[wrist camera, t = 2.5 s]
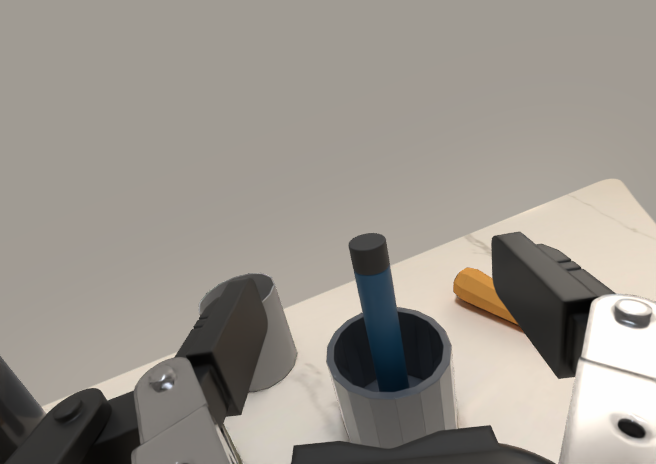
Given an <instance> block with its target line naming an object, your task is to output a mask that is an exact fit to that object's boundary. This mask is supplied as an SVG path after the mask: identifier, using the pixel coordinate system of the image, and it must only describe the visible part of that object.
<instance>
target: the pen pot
mask: <svg viewBox="0 0 656 464" xmlns="http://www.w3.org/2000/svg"><path fill="white" fill-rule="evenodd" d="M397 313H398V319H399V325H400V331H401V338H402V344H403V350H404V356H405V363H406V369H407V375H408V381H409V388H408V389H404V390H400V391H397V392H379V388H378V383H377V378H376V373H375V369H374V364H373V359H372V354H371V350H370V345H369V340H368V335H367V331H366V326H365V321H364V316H363V313H361V314H359V315H357V316H355V317H353V318H351V319H349V320H347V321H346V322H345V323H344V324H343V325H342V326H341V327H340V328H339V329H338V330H337V331H335V333H334V335H333V337H332V338H331V340H330V342H329V344H328V347H327V360H326V362H327V366H328V369H329V373H330V376H331V380H332V383H333V387H334V390H335V394H336V397H337V401H338V404H339V408H340V411H341V415H342V419H343V422H344V426H345V429H346V431H347V434H348V437H349V440H350V442H351V443H355V444H361V445H367V446H373V447H379V448H386V449H390V448H395V447H398V446H400V445H403V444H406V443H408V442H411V441H413V440H416V439H419V438H421V437H424V436H427V435H429V434H432V433H434V432H437V431H441V430H450V429H457V426H458V424H457V419H458V415H457V403H456V391H455V379H454V367H453V355H452V345H451V343H450V340H449V338H448V336H447V333H446V331H445V330H444V329H443V328H442V327H441V326H440V325H439V324H438V323H437V322H436V321H435V320H434V319H433V318H431V317H429V316H427V315H425V314H423V313H421V312H419V311H416V310H411V309H406V308H400V307H399V308H398V307H397Z"/></svg>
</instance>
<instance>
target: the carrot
mask: <svg viewBox="0 0 656 464" xmlns="http://www.w3.org/2000/svg"><path fill="white" fill-rule="evenodd" d="M453 292H454V293H455V294H456V295H457V296H458V297H459V298H460V299H462V300H464V301H466V302H468V303H470V304H473V305H475V306H477V307H479V308H482V309H484V310H486V311H488V312H491V313H493V314H495V315H497V316H499V317H502V318H504V319H506V320H508V321H511V322H513V323H515V324H517V325H518V323H517V322H516V321H515V319H514V318H513V316H512V315H511V314H510V312H509V311H508V310H507V308H506V307H505V306H504V304H503V303H502V301H501V300H500V299H499V297H498V296H497V293H496V291H495V288H494V285H493V279H492V278H491V277H489V276H488V275H486V274H484V273H483V272H481V271H479V270H478V269H473V268H465V269H464V270H462V271H461V272H459V274H458V275H457V276H456V278H455V280H454V287H453Z"/></svg>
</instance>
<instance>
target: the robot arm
mask: <svg viewBox="0 0 656 464" xmlns="http://www.w3.org/2000/svg"><path fill="white" fill-rule="evenodd" d="M492 278H493V285H494V288H495V291H496V293H497V296H498V297H499V299H500V300H501V301H502V303H503V304H504V306H505V307H506V308H507V310H508V311H509V312H510V314H511V315H512V316H513V318H514V319H515V321H516V322H517V323H518V325H519V326H520V327H521V329H522V330H523V331H524V333H525V334H526V336H527V337H528V338H529V340H530V341H531V342H532V344H533V345H534V346H535V348H536V349H537V351H538V352H539V353H540V355H541V356H542V357H543V359H544V360H545V361H546V363H547V364H548V366H549V367H550V368H551V370H552V371H553V372H554V374H555V375H556V376H557V378H558V379H561V378H570V377H575V381H574V386H573V391H572V396H571V401H570V407H569V412H568V417H567V422H566V427H565V432H564V438H563V443H562V448H561V453H560V458H559V464H656V302H655V301H653V300H650V299H647V298H643V297H639V296H635V295H628V294H616V293H614V292H613V291H612V290H610V289H609V288H608V287H607V286H605V285H604V284H603V283H601V282H600V281H599V280H597V279H596V278H595V277H593V276H592V275H591V274H589V273H588V272H587V271H586V270H584V269H581V267H580V266H579V265H578V264H576V263H575V262H574V261H571V259H570V258H568V257H567V256H566V255H565V254H563V253H562V252H561V251H559V250H557V249H554V248H552V247H549V246H546V245H544V244H537V245H536V244H535V243H533V242H532V241H531V240H530V239H529V238H527V237H526V236H525V235H524V234H522V233H521V232H514V233H508V234H502V235H497V236H493V238H492ZM267 330H268V319H267V314H266V311H265V308H264V306H263V303H262V300H261V297H260V294H259V292H258V289H257V286H256V283H255V281H254V280H253V279H252V278H245V279H239V280H233V281H230V282H229V283H228V284H227V286H226V288H225V289H224V291H223V293H222V294H221V296H220V297H217V298H216V299H215V300H214V301H212V302H211V303H210V304H209V305H208V306H207V307H206V308H205V309H204V311H203V313H202V314H201V316H200V317H199V320H198V321H197V322H196V324H195V326H194V329H192V330H191V332H190V334H189V335H188V337H187V338H186V340H185V342H184V343H183V345H182V346H181V348H180V350H179V351H178V353H177V354H176V356H175V357H174V358H171V359H168V360H165V361H163V362H161V363H159V364H157V365H156V366H154V367H153V368H151V369H150V370H149V371H147V372H146V373H145V374H144V375H143V376H142V377H141V378H140V380H139V381H138V383H137V384H136V386H135V389H134V391H132V392H129V393H126V394H124V395H121V396H119V397H116V398H113V399H111V400H108V401H107V399H106V398H105V396H104V395H103V393H102V392H101V391H100V390H99V389H96V388H90V389H85V390H82V391H80V392H77V393H75V394H73V395H71V396H69V397H68V398H66V399H65V400H63V401H62V402H60V403H59V404H57V405H56V406H55V407H54V408H53V409H52V410H50V411H49V412H48V413H47V414H46V413H45V411H44V410H43V409H42V408H41V406H40V405H39V404H38V403H37V402H36V400H35V399H34V398H33V397H32V395H31V394H30V393H29V391H28V390H27V389H26V388H25V386H24V385H23V384H22V383H21V381H20V380H19V379H18V378H17V376H16V375H15V374H14V373H13V371H12V370H11V369H10V368H9V367H8V365H7V364H6V363H5V362H4V360H3V359H2V358H1V356H0V464H239V462H238V460H237V458H236V456H235V453H234V451H233V449H232V446H231V444H230V442H229V440H228V437H227V435H226V433H225V431H224V429H223V427H222V425H223V423H224V420H225V417H228V416H237V415H241V414H242V411H243V407H244V404H245V401H246V398H247V395H248V391H249V388H250V385H251V382H252V379H253V375H254V372H255V369H256V366H257V363H258V359H259V356H260V353H261V350H262V347H263V343H264V340H265V337H266V334H267ZM291 464H555V463H554V462H552V461H550V460H548V459H546V458H544V457H542V456H540V455H537V454H535V453H533V452H530V451H527V450H525V449H522V448H519V447H515V446H511V445H507V444H501V443H498V441H497V439H496V437H495V434H494V432H493V430H492V427H491V425H489V426H479V427H469V428H460V429H450V430H441V431H437V432H434V433H432V434H429V435H427V436H424V437H421V438H419V439H416V440H413V441H411V442H408V443H406V444H403V445H400V446H398V447H395V448H390V449H386V448H379V447H373V446H367V445H361V444H355V443H349V442H343V441H334V442H325V443H315V444H305V445H296V446H294V448H293V455H292V462H291Z"/></svg>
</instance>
